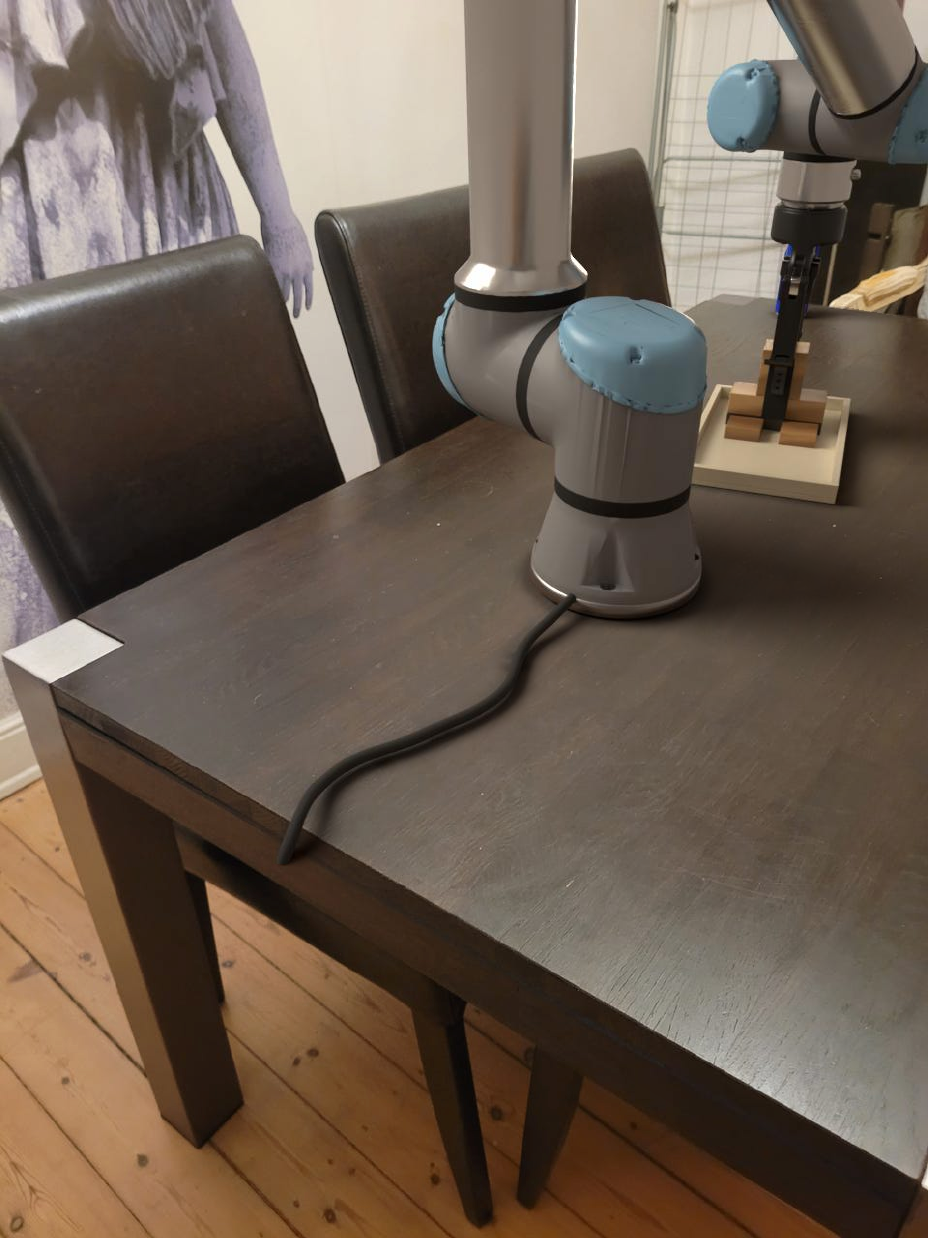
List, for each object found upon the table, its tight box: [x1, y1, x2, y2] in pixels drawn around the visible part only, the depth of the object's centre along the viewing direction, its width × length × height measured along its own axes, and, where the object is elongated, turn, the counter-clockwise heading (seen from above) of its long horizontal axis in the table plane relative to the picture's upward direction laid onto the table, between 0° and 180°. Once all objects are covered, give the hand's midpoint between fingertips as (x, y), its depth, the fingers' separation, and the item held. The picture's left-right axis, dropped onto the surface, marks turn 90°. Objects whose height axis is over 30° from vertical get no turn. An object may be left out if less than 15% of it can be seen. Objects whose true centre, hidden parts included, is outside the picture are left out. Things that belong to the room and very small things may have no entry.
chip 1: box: [724, 415, 764, 442], centre depth 110 cm, size 4×4×2 cm
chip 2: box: [778, 421, 818, 448], centre depth 108 cm, size 4×4×2 cm
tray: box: [691, 383, 852, 505], centre depth 109 cm, size 28×17×2 cm, turn 158°
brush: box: [725, 338, 829, 435], centre depth 110 cm, size 4×11×10 cm, turn 69°
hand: (775, 410), depth 112 cm, fingers closed on brush, 5 cm apart
